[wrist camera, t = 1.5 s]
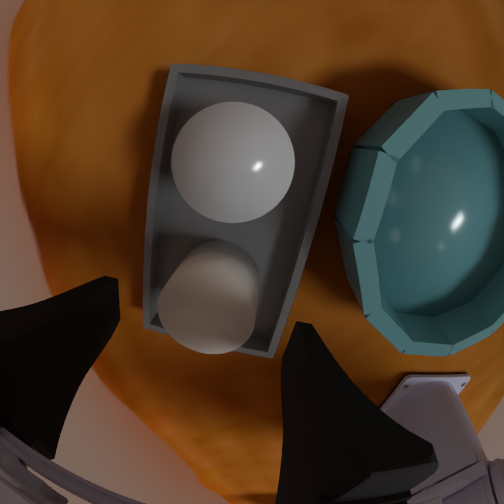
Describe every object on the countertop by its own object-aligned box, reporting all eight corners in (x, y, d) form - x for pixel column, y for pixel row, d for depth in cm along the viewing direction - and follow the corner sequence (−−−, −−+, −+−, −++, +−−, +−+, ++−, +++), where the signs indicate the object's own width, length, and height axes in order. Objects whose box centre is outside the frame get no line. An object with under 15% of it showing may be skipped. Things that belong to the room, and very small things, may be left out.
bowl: (469, 327, 15) (491, 356, 12) (305, 300, 15) (313, 342, 11) (530, 155, 10) (565, 164, 7) (370, 56, 10) (399, 34, 6)
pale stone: (250, 317, 15) (244, 362, 12) (178, 300, 15) (156, 340, 12) (267, 249, 13) (265, 286, 10) (186, 232, 13) (159, 261, 10)
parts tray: (273, 341, 16) (273, 358, 15) (152, 313, 16) (143, 327, 14) (340, 100, 11) (349, 95, 9) (182, 70, 11) (171, 63, 9)
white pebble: (277, 209, 13) (278, 234, 9) (191, 192, 12) (164, 210, 9) (297, 123, 11) (307, 116, 8) (207, 106, 11) (182, 94, 8)
